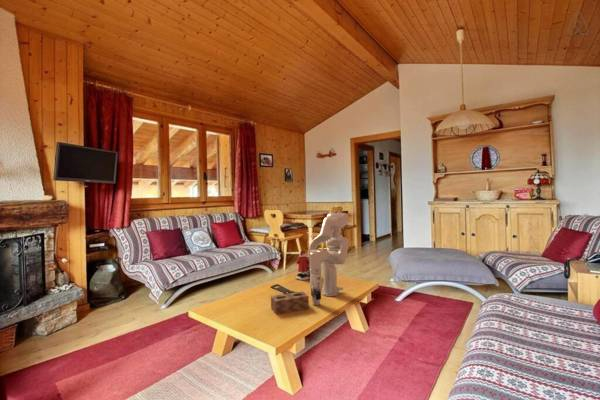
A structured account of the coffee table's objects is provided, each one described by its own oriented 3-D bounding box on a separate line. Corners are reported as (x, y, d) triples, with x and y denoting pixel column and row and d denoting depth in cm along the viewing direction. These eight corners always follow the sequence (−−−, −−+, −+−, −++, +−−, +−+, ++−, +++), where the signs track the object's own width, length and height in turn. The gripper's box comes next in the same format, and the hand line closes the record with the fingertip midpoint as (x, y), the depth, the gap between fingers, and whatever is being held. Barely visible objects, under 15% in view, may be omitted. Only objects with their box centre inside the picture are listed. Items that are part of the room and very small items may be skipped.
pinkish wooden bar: (318, 303, 201) (318, 285, 201) (320, 304, 199) (319, 286, 199) (312, 304, 200) (312, 286, 199) (313, 305, 198) (313, 287, 197)
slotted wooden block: (303, 303, 203) (302, 291, 202) (308, 308, 193) (308, 296, 193) (271, 308, 195) (270, 296, 194) (275, 314, 185) (275, 301, 185)
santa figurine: (306, 274, 273) (305, 246, 272) (317, 277, 262) (316, 248, 261) (291, 278, 262) (290, 249, 261) (302, 281, 251) (301, 251, 250)
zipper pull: (277, 283, 226) (303, 289, 210) (277, 292, 226) (303, 299, 210) (268, 286, 219) (294, 293, 203) (269, 295, 220) (295, 303, 203)
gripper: (326, 273, 192) (327, 300, 193) (315, 267, 208) (315, 292, 209) (315, 274, 189) (316, 302, 190) (305, 268, 206) (305, 294, 206)
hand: (316, 297), depth 199 cm, fingers open, 7 cm apart
